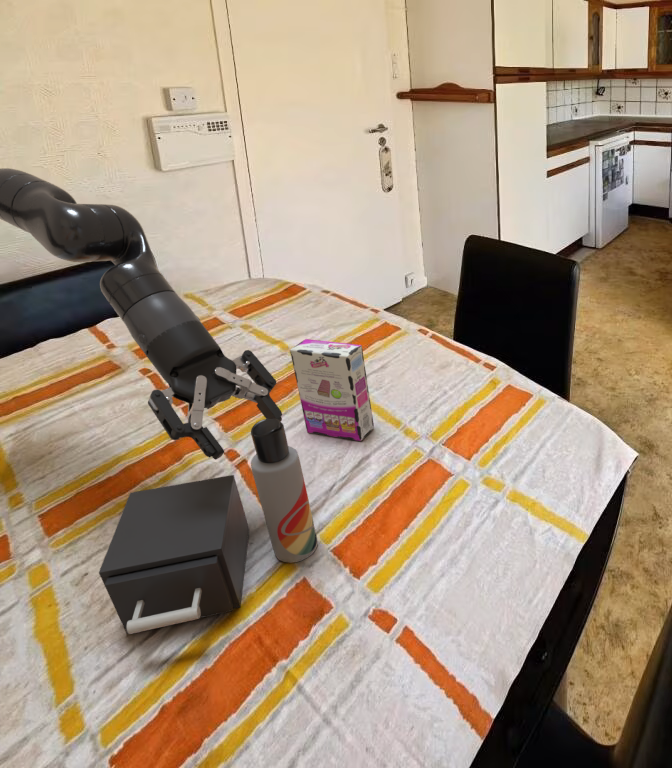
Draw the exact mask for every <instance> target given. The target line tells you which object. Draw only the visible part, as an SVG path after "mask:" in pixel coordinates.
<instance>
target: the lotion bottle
mask: <svg viewBox="0 0 672 768" xmlns="http://www.w3.org/2000/svg"><path fill="white" fill-rule="evenodd" d="M250 435H251V439H252V442H253V447H254V450H255V453H256V454H254V456H253V457H252V459H251V460H250V469H251V471H252V476H253V480H254V483H255V487H256V491H257V495H258V499H259V503H260V507H261V509H262V513H263V517H264V520H265V525H266V528H267V532H268V535H269V540H270V542H271V546H272V550H273V553H274V555H275V557H276V558H277V559H278V560H279V561H281V562H283V563H290V564H291V563H297V562H301V561H304V560H306V559H307V558H309V557H310V556H311V555H313V553H314V552H315V551H316V550H317V548H318V537H317V531H316V527H315V522H314V519H313V514H312V509H311V505H310V500H309V496H308V491H307V485H306V482H305V478H304V474H303V473H304V472H303V468H302V464H301V459H300V456H299V453H298V451H297V449H296V448H295V447H293V446H290V445H289V444H288V440H287V434H286V430H285V426H284V424H283V423H282V421H281V422H280V421H279V420H277V419H274V418H272V419H266V418H264V419H261V420H259V421H257V422H256V423H254V424H253V426H252V427H251V429H250Z"/></svg>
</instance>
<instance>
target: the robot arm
mask: <svg viewBox="0 0 672 768" xmlns="http://www.w3.org/2000/svg"><path fill="white" fill-rule="evenodd" d="M0 220H1V221H3V222H6V223H7V224H9V225H12V226H14V227H16V228H18V229H20V230H22V231H24V232H26V233H28V234H30V235H31V236H32V237H33V238H34V239H35V240H36V242H38V243H39V244H40V245H41V246H42V247H43V248H44V249H45V250H46V251H47V252H48V253H49V254H51V255H52V256H54V257H56V258H58V259H60V260H64V261H68V262H71V263H91V262H107V261H110V262H112V263H113V264H114V265H113V266H112V267H110V268H109V269H108V270H106V271H105V272H104V273H103V275H102V276H101V277H100V281H99V288H100V292H101V293H102V294H103V296H104V298H105V300H106V301H107V302H108V304H109V305H110V306H111V307H112V309H113V311H114V312H115V313H116V314H117V316H118V317H119V319H121V321H122V322H123V323H124V325H125V326H126V328H127V330H128V332H129V334H130V336H131V337H132V339H133V340H134V342H135V343H136V344H137V346H138V347H139V349H140V350H141V351H142V352H143V354H144V355H145V356H146V358H147V359H148V361H150V363H151V364H152V365H153V367H154V368H155V369H156V371H157V373H159V375H160V377H162V379H163V380H164V382H166V383H167V384H168V387H167V388H165V389H163V390H160V389H153V390H152V391H151V393H150V395H149V398H148V400H147V404H148V407H149V408H150V409H151V411H152V412H153V414H154V415H155V417H156V418H157V420H158V421H159V423H160V425H161V426H162V427H163V429H164V430H165V432H166V434H167V435H168V437H169V438H170V439H171V440H173V441H178V440H180V439H182V438H191V439H192V440H193V441H194V442H195V444H196V445H197V446H198V448H199V449H200V450H201V451H202V453H203V454H204V456H206V457H208V458H213V460H218V459H220V458H222V457H223V455H224V453H225V450H224V447H222V445H221V444H220V443H219V441H218V440H217V439H216V438H215V436H214V435H213V433H212V432H211V431H210V429H209V428H208V427H207V426H205V427H203V420H204V419H203V418H204V411H205V409H206V410H210V409H212V408H213V407H215V406H216V405H217V404H218V403H223V402H226V401H228V400H230V399H231V397H233V398H236V399H240V400H242V399H245V400H248V401H250V402H253V403H254V404H256V407H257V408H258V410H259V411H260V413H261V414H262V415H263V417H264V419H272V418H274V419H277V420H279V421H280V422H281V423H282V420H283V417H282V416H283V413H282V410H281V409H280V408H279V406H278V405H277V403H276V402H275V401H274V399H273V398H272V397H271V395H270V394H271V392H272V391H273V389H274V387H276V385H277V380H276V379H275V377H274V376H273V375H272V373H270V371H269V370H268V369H267V368H266V367H265V365H264V364H263V362H261V361H260V360H259V359H258V357H257V356H256V355H255V354H254V353H253V351H251V350H250V349H245V350H244V351H243V353H242V354H241V355H239V356H238V357H236V358H233V359H231V358H228V357H227V356H226V355H225V354H224V352H223V350H222V348H221V346H220V345H219V344H218V342H217V341H216V340H215V338H213V336H212V334H211V333H210V332H209V331H208V330H207V328H206V327H205V325H204V324H203V323H202V321H201V320H200V317H199V316H198V315H196V314H195V312H194V311H193V309H192V308H191V307H190V305H189V304H187V302H185V301H184V300H183V298H181V296H179V294H178V293H177V292H176V291H175V289H174V288H173V286H172V285H171V284H170V283H169V281H168V280H167V278H166V277H165V276H164V274H162V272H161V271H160V269H159V267H158V265H157V262H156V259H155V257H154V253H153V251H152V249H151V246H150V244H149V241H148V238H147V236H146V233H145V231H144V229H143V226H142V225H141V223H140V222H139V220H138V219H137V218H136V217H135V216H134V215H133V214H132V213H131V212H129V210H127V209H125V208H123V207H121V206H119V205H115V204H106V203H104V204H103V203H102V204H101V203H77V201H76V199H75V198H74V197H73V196H72V195H71V194H70V193H69V192H68V191H66V190H65V189H63V188H61V187H60V186H58V185H56V184H54V183H51V182H49V181H47V180H45V179H43V178H40V177H38V176H36V175H34V174H31V173H28V172H26V171H23V170H20V169H15V168H8V167H7V168H2V167H0ZM237 370H240V371H241V372H242V373H245V374H247V375H248V376H249V377H250V379H249V378H247V377H244V376H241V375H239V374H237ZM173 398H174V399H176V400H179V401H181V402H184V403H187V404H188V405H187V416H186V420H187V421H186V423H183V421H182V420H181V418H180V417H179V415H178V414H177V412H176V411H175V409H174V407H173V406H172V405H173V403H174V400H173Z"/></svg>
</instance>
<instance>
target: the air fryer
mask: <svg viewBox="0 0 672 768" xmlns="http://www.w3.org/2000/svg"><path fill="white" fill-rule="evenodd" d="M238 488H239V487H238V484H237V481H236V478H235V475H234V474H231V475H225V476H219V477H213V478H208V479H207V478H206V479H201V480H196V481H190V482H183V483H179V484H172V485H167V486H161V487H155V488H150V489H143V490H138V491H137V490H136V491H133V492H132V491H131V492H129V495H128V497H127V500H126V503H125V505H124V508H123V510H122V513H121V515H120V518H119V521H118V522H117V526H116V528H115V531H114V533H113V536H112V538H111V540H110V543H109V546H108V548H107V551H106V554H105V556H104V558H103V561H102V563H101V565H100V568H99V571H98V574H99V576H100V579H101V581H102V583H103V585H104V586H105V583H106V580H107V578H108V577H113V576H118V575H121V574H123V573H128V572H133V571H138V570H143V569H148V568H153V567H158V566H163V565H168V564H173V563H178V562H183V561H188V560H193V559H198V558H203V557H208V556H213V555H216V556H218V558H219V561H220V564H221V567H222V570H223V573H224V576H225V580H226V583H227V586H228V589H229V592H230V595H231V598H232V601H233V610H234V609H239V608H241V605H242V596H243V589H244V579H245V572H246V571H245V570H246V562H247V554H248V545H249V537H250V527H249V522H248V519H247V515H246V512H245V510H244V509H245V508H244V506H243V502H242V498H241V495H240V492H239V489H238ZM105 589H106V588H105ZM106 591H107V589H106ZM116 614H117V615H118V613H117V612H116ZM122 627H123V628H124V626H123V625H122Z"/></svg>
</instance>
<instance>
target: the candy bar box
mask: <svg viewBox="0 0 672 768" xmlns="http://www.w3.org/2000/svg"><path fill="white" fill-rule="evenodd" d="M289 352H290V357H291V363H292V366H293V372H294V376H295V380H296V386H297V390H298V395H299V400H300V405H301V410H302V415H303V419H304V424H305V429H306V432H307V433H309V434H313V435H314V434H315V435H320V436H328V437H334V438H339V439H345V440H346V439H347V440H350V441H351V440H352V441H358V442H362V441H363V440H364V439H365V438H366V437H367V436H368V435H369V434H370V433H371V432H372V431H373V430H374V428H375V425H374V418H373V417H374V416H373V411H372V404H371V398H370V391H369V386H368V378H367V371H366V365H365V358H364V351H363V345H362V344H354V343H348V342H347V343H346V342H337V341H330V340H329V341H328V340H320V339H310V338H305V339H304V340H302V341H300V342H299V343H298V344H296V345H294V346H293V347H291V348H290V349H289Z"/></svg>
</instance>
